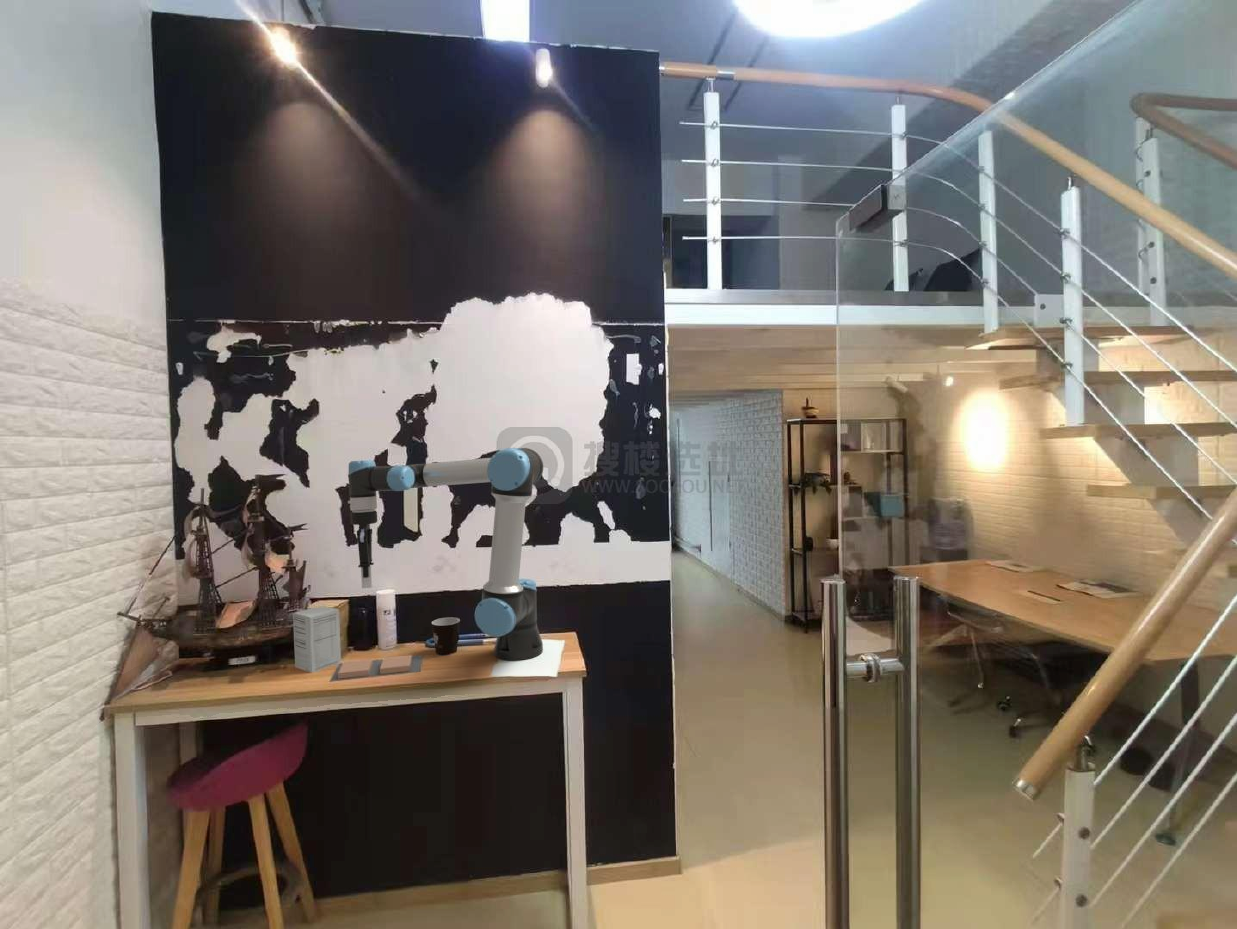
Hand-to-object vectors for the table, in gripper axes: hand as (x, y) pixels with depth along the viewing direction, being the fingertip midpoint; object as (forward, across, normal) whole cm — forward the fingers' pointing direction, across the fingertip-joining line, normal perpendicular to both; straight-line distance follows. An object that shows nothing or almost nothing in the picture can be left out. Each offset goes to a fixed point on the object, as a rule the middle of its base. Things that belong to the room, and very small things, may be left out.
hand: (367, 587), depth 180 cm
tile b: (+21, +6, -2) cm, 22 cm away
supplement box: (+22, +1, -14) cm, 27 cm away
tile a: (+21, +6, +9) cm, 24 cm away
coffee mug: (+23, +2, +23) cm, 32 cm away
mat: (+23, +9, +4) cm, 25 cm away
